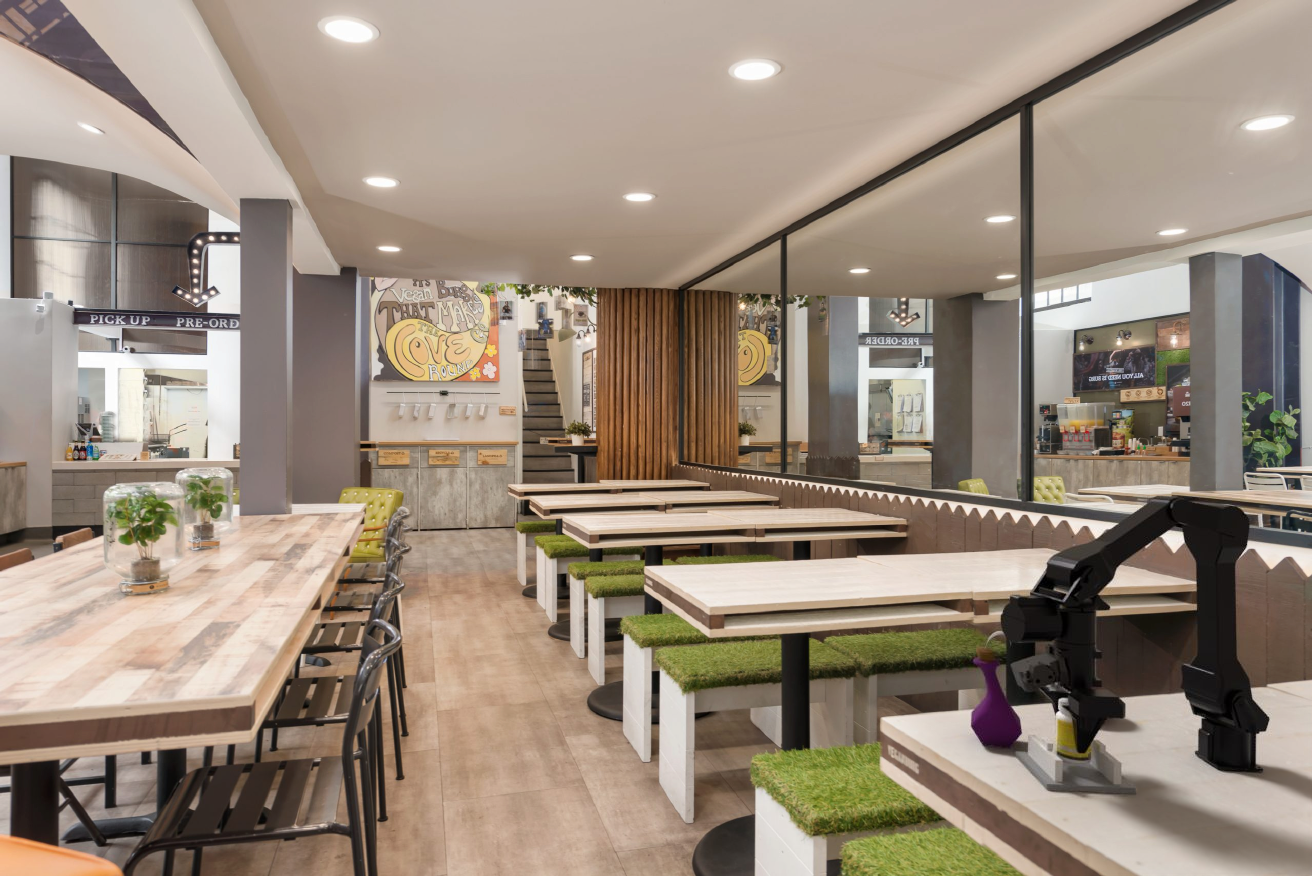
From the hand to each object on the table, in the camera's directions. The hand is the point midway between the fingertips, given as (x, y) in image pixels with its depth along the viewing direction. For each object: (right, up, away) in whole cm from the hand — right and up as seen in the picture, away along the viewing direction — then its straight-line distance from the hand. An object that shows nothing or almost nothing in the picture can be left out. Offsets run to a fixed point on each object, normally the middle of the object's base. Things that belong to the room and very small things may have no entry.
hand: (1073, 746), depth 119 cm
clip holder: (0, -4, 0) cm, 4 cm away
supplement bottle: (0, -2, 0) cm, 2 cm away
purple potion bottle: (-6, -4, +13) cm, 15 cm away
